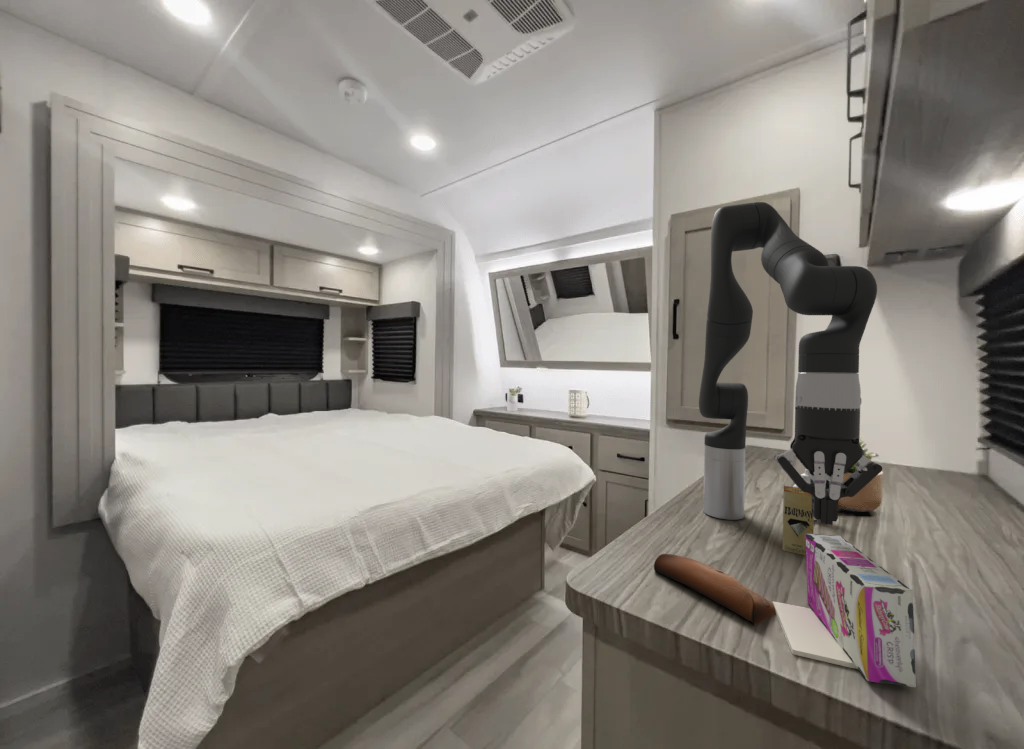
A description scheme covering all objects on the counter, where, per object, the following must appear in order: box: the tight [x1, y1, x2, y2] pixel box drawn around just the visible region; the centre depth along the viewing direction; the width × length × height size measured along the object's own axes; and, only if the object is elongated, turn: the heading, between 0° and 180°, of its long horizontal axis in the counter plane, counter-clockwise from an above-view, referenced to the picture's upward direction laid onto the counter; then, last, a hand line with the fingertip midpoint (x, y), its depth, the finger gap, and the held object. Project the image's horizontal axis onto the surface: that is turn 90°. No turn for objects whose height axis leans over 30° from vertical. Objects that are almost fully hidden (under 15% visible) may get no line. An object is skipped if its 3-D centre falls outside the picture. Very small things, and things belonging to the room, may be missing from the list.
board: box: [772, 600, 859, 670], centre depth 56 cm, size 12×12×1 cm
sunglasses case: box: [653, 553, 776, 626], centre depth 68 cm, size 18×7×7 cm
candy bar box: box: [805, 533, 917, 688], centre depth 54 cm, size 11×5×16 cm
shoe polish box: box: [782, 485, 815, 556], centre depth 84 cm, size 5×5×12 cm
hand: (823, 522), depth 60 cm, fingers closed
